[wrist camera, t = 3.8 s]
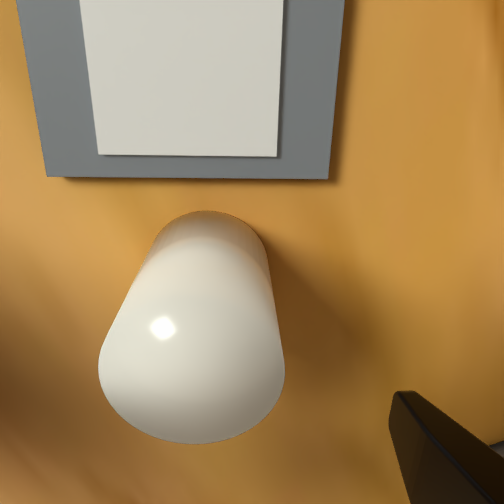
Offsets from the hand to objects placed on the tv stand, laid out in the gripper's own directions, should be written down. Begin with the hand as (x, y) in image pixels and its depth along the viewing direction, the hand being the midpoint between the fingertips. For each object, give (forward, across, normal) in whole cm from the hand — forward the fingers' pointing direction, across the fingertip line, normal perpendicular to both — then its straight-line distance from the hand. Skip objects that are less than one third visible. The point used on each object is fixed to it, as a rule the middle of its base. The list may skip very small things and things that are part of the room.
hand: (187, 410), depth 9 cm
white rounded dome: (+7, 0, 0) cm, 7 cm away
